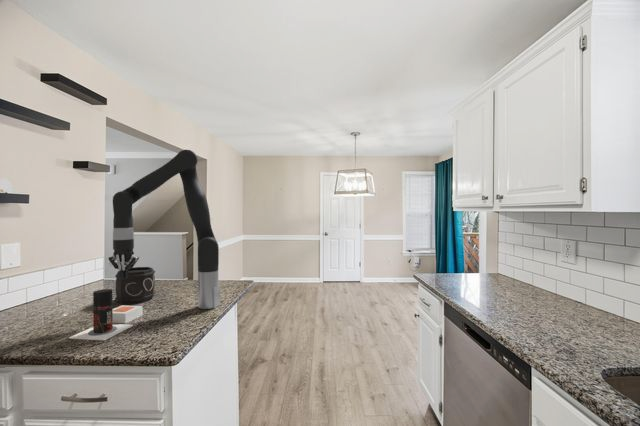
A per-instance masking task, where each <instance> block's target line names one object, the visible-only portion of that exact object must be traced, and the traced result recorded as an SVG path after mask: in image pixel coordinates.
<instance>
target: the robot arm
mask: <svg viewBox="0 0 640 426" xmlns="http://www.w3.org/2000/svg"><path fill="white" fill-rule="evenodd" d="M197 165H198V156H197V154H196V153H195V152H194V151H193V150H190V149H183V150H180V151H178V153H177V154H176V155H175V156H173V158H172V159H169V161H168V162H166V163H164V164H163V165H162V166H160V167H158V168H157V169H155V170H153V171H152V172H150V173H148V174H146V175H145V176H143V177H141V178H140V179H138V180H136V181H135V182H134V183H133V184H131V186H129V187H127V188H125V189H123V190H121V191H117V192H116V193H114V195H113V196H112V211H113V227H112V228H113V229H112V250H114V251H113V254H112V256H110V257H109V256H108V261H109V262H110V263H111V265H112V266H113V267H114V269H115V270H118V271H119V270H120V278H121V279H127V277H128V270H129V269H130V268H134V266H135V265H136V263H138V260H139V259H140V257H139V256H136V255H135V252H134V249H135V235H134V219H133V218H134V217H133V205H134V204H135V203H136V202H138V201H139V200H140V199H142V198H144V197H146V196H147V195H149V194H151V193H153V191H156V190H157V189H158V188H160V187H161V186H162V185H164V184H165V183H166V182H168V181H170V179H172V178H173V177H175V176H177V175H178V174H179V175H180V179H181V182H182V188H183V193H184V198H185V203H186V208H187V211H188V214H189V217H190V220H191V222H192V224H193V226H194V229H195V232H196V239H197V305H198V306H197V307H198V309H200V310H209V309H216V308H217V307H219V306H220V305H221V285H220V284H219V262H220V261H219V257H220V255H219V254H220V253H219V252H220V251H219V243H218V241H217V239H216V236H215V234H214V232H213V231H214V230H213V228H212V224H211V213H210V210H209V209H210V208H209V204H208V200H207V197H206V194H205V191H204V189H203V187H202V185H201V183H200V180H199V177H198V172H197Z"/></svg>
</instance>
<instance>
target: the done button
mask: <svg viewBox="0 0 640 426" xmlns="http://www.w3.org/2000/svg"><path fill="white" fill-rule="evenodd" d="M133 308H134V307H120V308H118V309H115V310H113V311H115V312H126V311H128V310H130V309H133Z"/></svg>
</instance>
